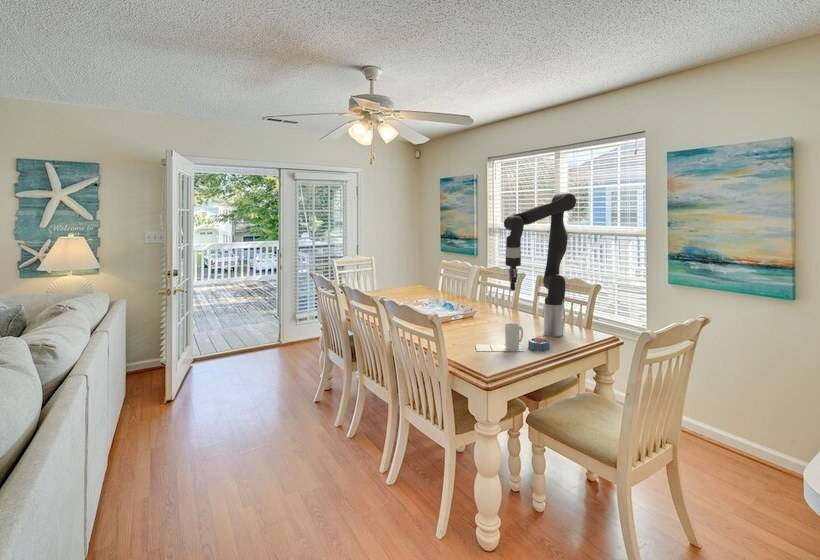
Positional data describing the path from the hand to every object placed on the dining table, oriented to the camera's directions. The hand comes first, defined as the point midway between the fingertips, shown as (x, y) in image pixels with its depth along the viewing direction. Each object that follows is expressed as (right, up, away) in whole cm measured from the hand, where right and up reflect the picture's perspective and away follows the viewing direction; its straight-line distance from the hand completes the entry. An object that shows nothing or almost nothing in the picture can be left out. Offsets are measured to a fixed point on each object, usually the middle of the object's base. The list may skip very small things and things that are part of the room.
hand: (512, 290), depth 216 cm
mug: (-1, -29, -8) cm, 30 cm away
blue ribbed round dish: (+11, -28, -8) cm, 31 cm away
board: (-8, -29, -6) cm, 30 cm away
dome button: (+11, -28, -8) cm, 31 cm away
